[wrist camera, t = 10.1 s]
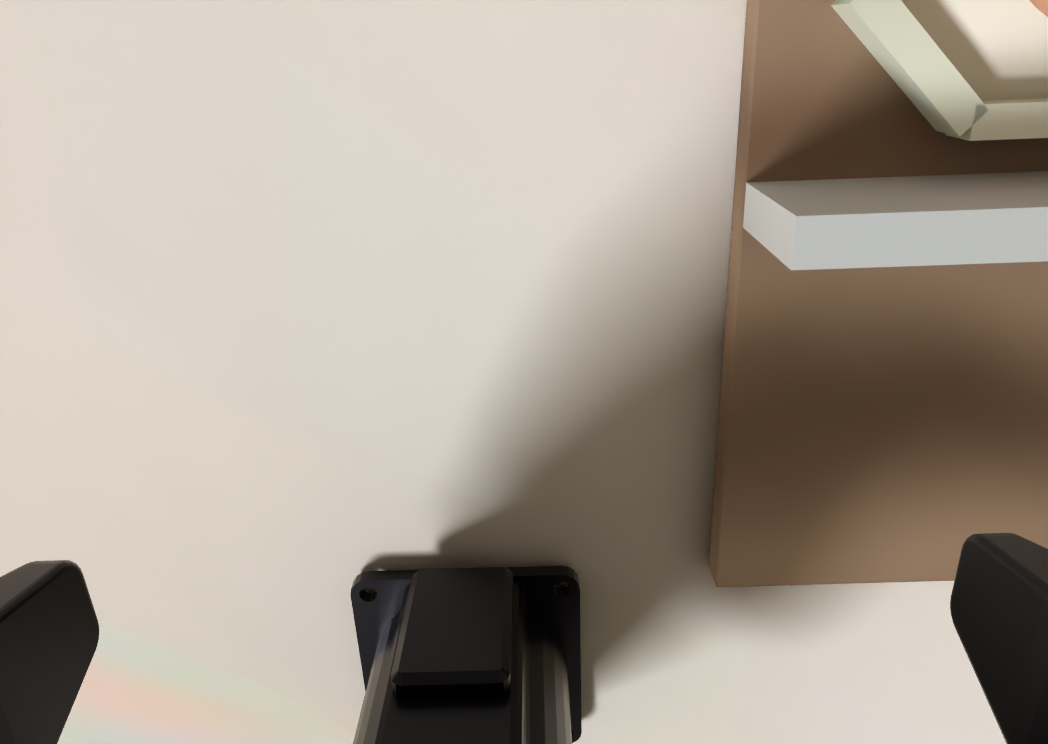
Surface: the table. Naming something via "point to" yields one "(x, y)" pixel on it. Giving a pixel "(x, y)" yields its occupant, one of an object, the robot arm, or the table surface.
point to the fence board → (873, 324)
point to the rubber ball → (1041, 5)
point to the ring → (962, 61)
